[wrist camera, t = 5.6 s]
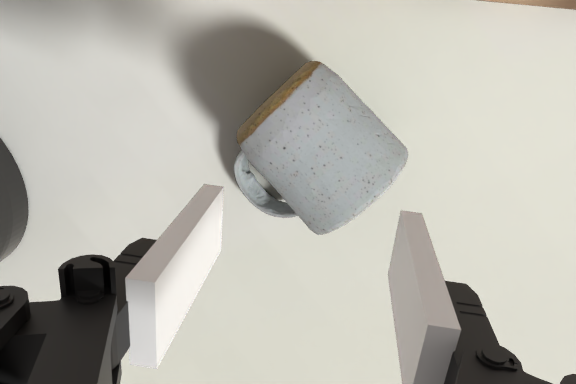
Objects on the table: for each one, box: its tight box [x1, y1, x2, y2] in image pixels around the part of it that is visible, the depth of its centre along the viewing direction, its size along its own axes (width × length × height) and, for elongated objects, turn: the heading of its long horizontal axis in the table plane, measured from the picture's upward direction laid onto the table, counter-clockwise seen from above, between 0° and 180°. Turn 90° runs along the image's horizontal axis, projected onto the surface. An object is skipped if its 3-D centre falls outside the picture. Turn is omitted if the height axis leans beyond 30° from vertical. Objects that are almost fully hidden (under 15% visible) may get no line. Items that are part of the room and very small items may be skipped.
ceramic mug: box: [234, 61, 408, 235], centre depth 28 cm, size 11×8×8 cm
